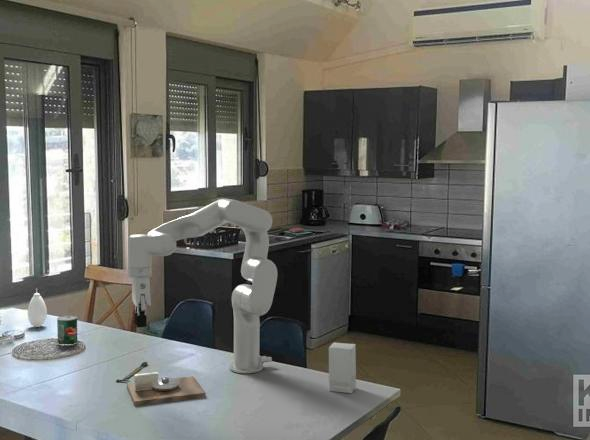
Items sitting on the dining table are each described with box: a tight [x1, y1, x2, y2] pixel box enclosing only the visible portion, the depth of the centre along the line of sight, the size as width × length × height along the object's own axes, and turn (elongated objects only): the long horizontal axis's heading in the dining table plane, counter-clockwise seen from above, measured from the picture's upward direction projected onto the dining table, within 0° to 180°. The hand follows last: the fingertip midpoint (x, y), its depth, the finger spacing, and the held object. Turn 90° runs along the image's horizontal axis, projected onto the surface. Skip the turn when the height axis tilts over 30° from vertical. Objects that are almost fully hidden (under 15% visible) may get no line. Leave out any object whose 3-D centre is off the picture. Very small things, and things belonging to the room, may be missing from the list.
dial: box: [133, 371, 179, 391], centre depth 228 cm, size 14×9×5 cm, turn 112°
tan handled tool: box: [115, 361, 148, 384], centre depth 247 cm, size 21×7×1 cm, turn 166°
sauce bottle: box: [27, 287, 48, 328], centre depth 307 cm, size 8×8×18 cm
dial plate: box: [126, 375, 206, 407], centre depth 229 cm, size 23×17×2 cm
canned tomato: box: [56, 314, 79, 344], centre depth 282 cm, size 8×8×11 cm
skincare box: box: [328, 342, 357, 394], centre depth 233 cm, size 8×7×16 cm
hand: (140, 325), depth 229 cm, fingers open, 2 cm apart
